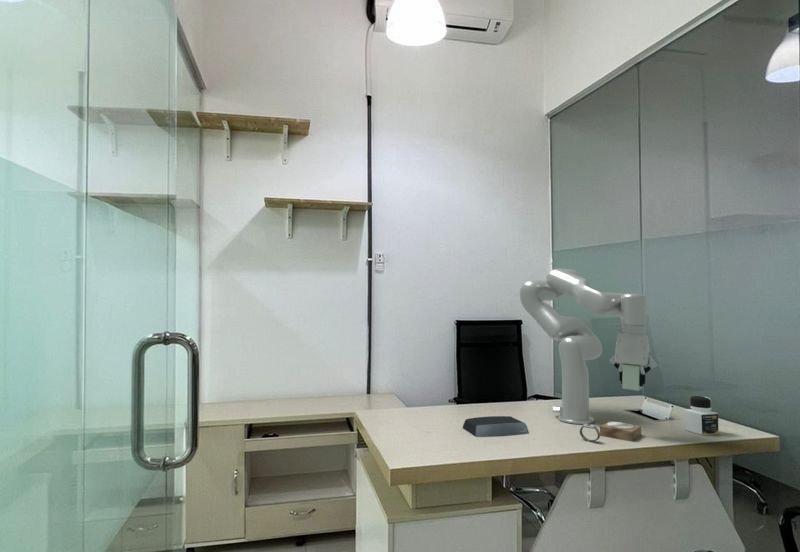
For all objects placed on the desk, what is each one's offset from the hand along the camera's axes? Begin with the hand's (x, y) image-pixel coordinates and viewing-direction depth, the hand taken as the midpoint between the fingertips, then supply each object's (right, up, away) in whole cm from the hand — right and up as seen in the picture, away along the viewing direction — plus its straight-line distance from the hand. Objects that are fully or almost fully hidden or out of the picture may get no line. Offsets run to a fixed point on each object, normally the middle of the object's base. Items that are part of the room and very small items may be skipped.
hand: (632, 384), depth 159 cm
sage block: (0, -2, 0) cm, 2 cm away
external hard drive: (-45, -17, +3) cm, 49 cm away
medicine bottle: (+26, -18, +4) cm, 31 cm away
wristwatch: (-18, -16, -9) cm, 26 cm away
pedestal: (-5, -17, -2) cm, 17 cm away
